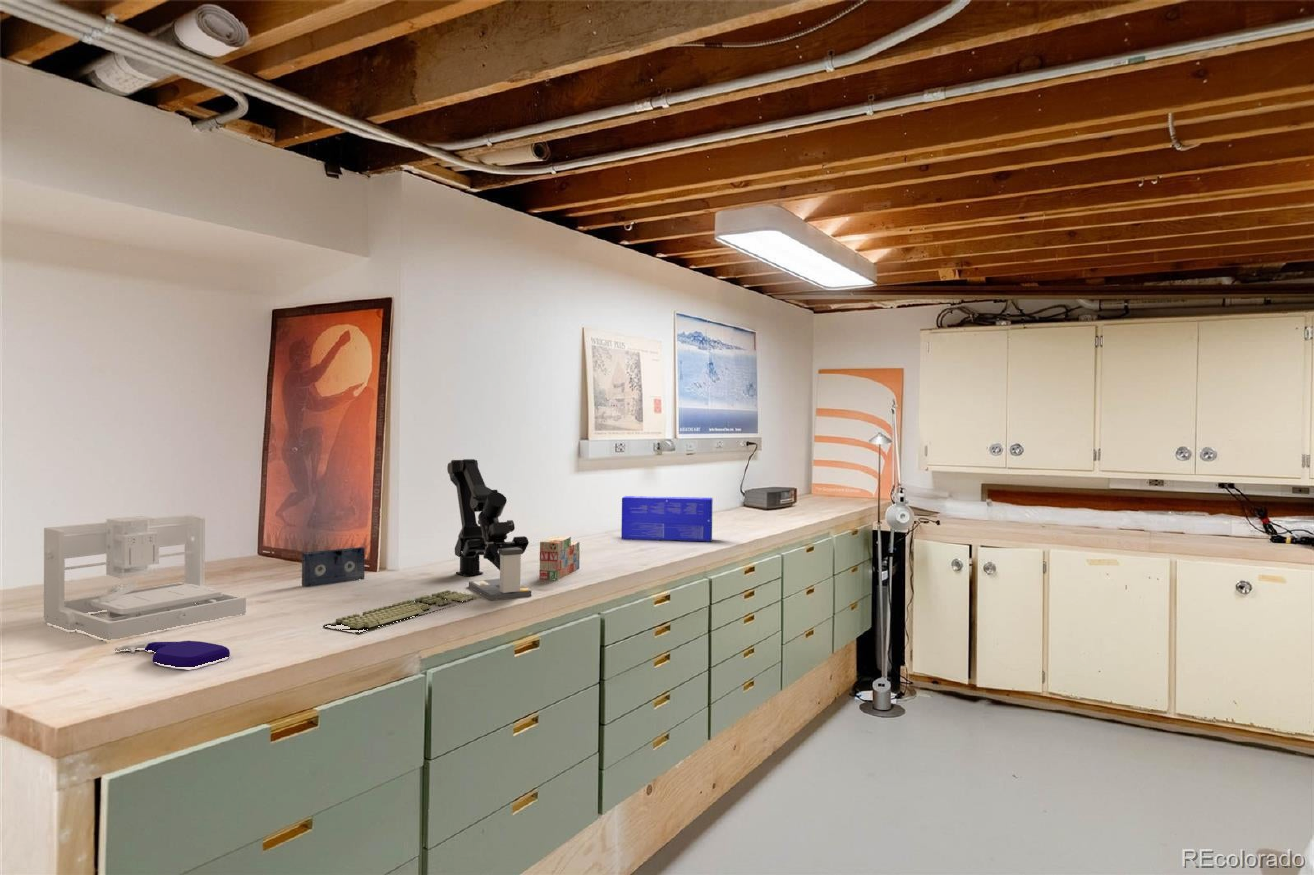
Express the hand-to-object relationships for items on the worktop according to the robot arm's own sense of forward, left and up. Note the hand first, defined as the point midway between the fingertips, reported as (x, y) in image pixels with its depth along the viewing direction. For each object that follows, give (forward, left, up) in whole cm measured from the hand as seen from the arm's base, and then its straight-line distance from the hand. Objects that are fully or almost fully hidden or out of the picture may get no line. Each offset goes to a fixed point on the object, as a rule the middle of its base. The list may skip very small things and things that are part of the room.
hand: (502, 570), depth 226 cm
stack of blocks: (-10, +31, -7) cm, 34 cm away
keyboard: (-1, -31, -8) cm, 32 cm away
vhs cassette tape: (-46, -28, -7) cm, 55 cm away
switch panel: (-2, +1, -7) cm, 7 cm away
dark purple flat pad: (+1, -85, -7) cm, 86 cm away
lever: (+6, -2, -5) cm, 8 cm away
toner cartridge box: (-35, +114, -7) cm, 120 cm away
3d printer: (-36, -80, -7) cm, 88 cm away
